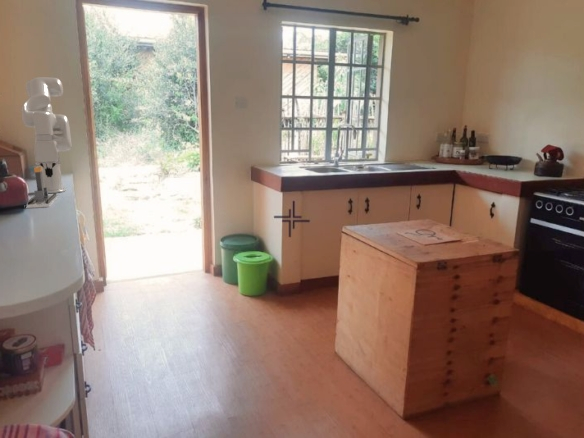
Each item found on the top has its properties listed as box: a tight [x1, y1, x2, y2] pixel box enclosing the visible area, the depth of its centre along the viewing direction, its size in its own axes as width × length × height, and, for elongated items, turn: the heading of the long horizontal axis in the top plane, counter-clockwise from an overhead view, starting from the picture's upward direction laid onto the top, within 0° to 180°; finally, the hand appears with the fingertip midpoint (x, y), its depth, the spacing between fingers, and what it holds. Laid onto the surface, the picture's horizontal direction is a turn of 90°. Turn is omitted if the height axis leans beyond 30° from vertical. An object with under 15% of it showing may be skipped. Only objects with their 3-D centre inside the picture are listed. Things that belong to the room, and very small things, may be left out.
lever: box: [33, 166, 44, 191], centre depth 218 cm, size 6×2×13 cm, turn 18°
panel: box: [25, 187, 59, 209], centre depth 219 cm, size 24×10×7 cm, turn 18°
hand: (49, 176), depth 219 cm, fingers closed
